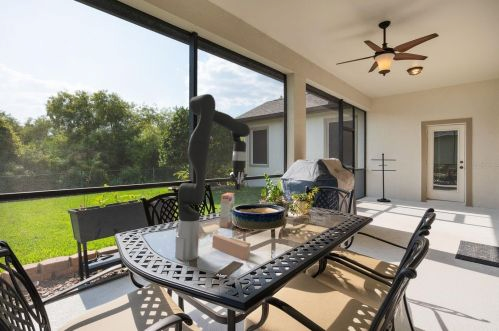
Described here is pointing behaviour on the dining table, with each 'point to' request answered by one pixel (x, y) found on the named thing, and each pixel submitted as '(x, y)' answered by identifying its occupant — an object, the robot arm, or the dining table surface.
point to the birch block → (241, 242)
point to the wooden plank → (229, 268)
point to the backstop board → (231, 247)
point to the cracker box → (226, 209)
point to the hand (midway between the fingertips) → (237, 190)
